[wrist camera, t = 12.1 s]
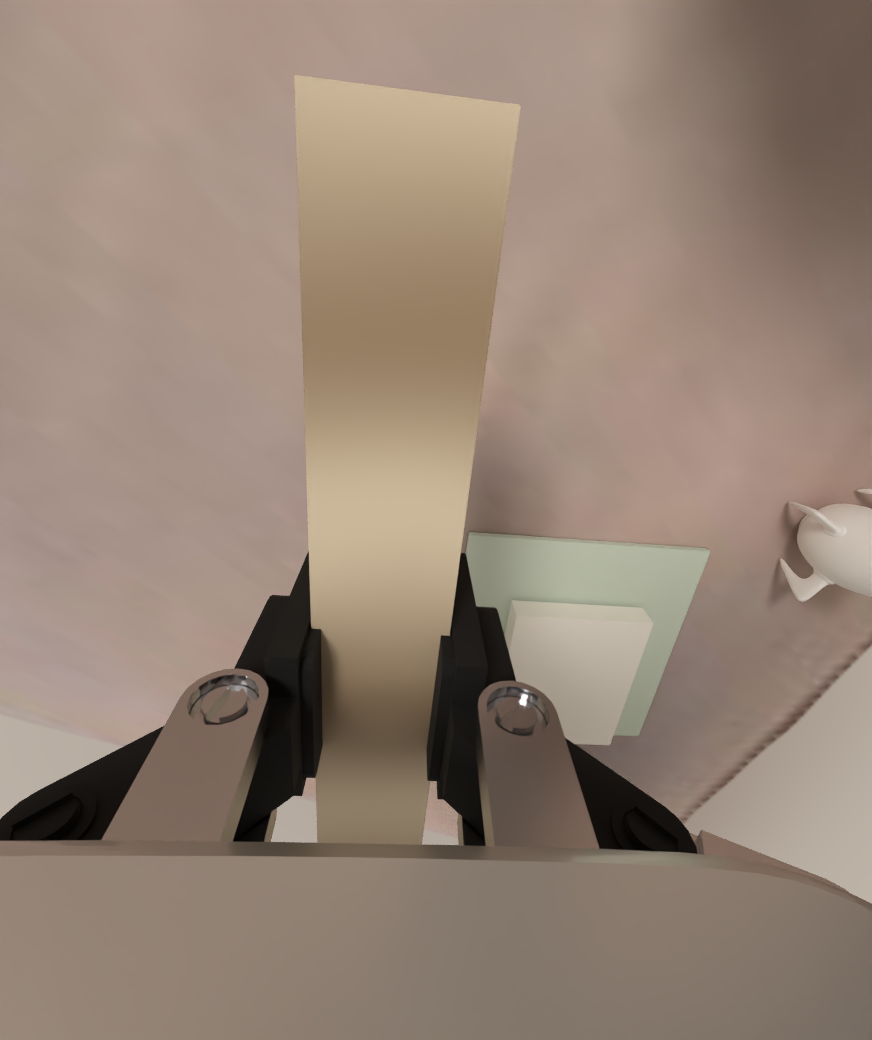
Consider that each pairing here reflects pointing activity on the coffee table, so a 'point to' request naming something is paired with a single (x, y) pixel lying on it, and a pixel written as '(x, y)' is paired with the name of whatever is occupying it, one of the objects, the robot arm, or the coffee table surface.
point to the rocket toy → (834, 549)
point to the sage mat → (594, 590)
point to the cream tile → (579, 660)
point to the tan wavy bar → (390, 414)
